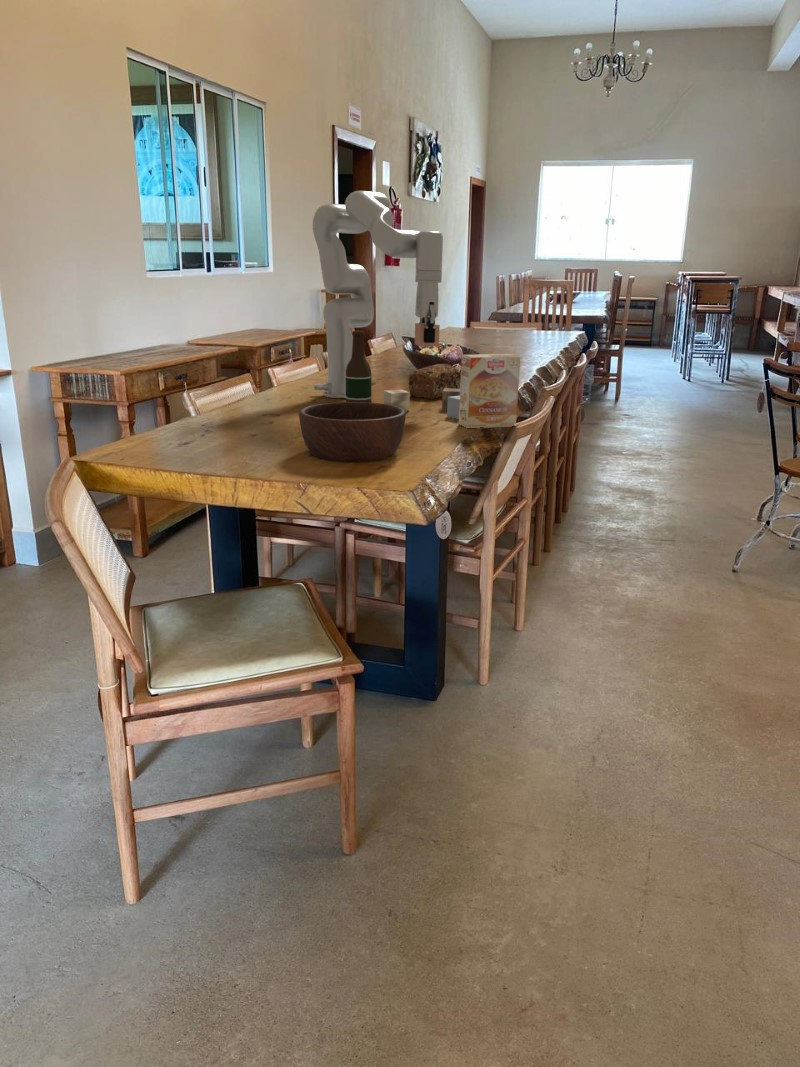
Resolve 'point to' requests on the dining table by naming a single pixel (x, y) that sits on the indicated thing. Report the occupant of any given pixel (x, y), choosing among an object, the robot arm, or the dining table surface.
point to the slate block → (453, 406)
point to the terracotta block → (420, 335)
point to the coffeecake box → (489, 390)
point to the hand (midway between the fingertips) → (426, 340)
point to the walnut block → (448, 393)
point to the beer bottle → (358, 372)
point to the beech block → (397, 398)
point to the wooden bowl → (352, 430)
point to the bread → (433, 380)
